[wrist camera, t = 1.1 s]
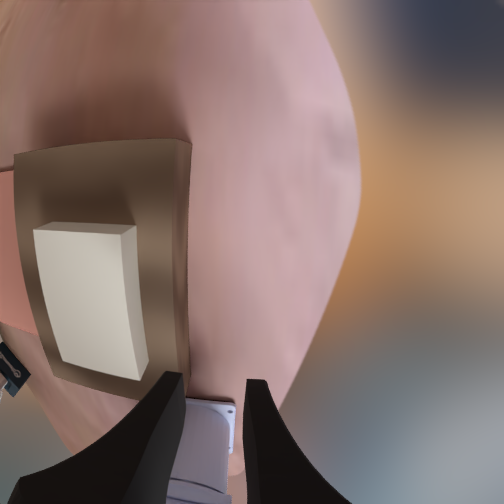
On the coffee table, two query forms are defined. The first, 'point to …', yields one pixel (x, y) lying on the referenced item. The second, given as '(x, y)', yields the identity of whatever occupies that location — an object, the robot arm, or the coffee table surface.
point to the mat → (12, 264)
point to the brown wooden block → (123, 213)
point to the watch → (11, 372)
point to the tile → (93, 295)
